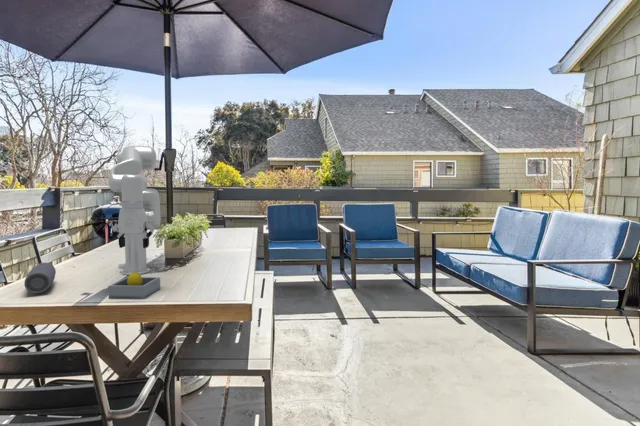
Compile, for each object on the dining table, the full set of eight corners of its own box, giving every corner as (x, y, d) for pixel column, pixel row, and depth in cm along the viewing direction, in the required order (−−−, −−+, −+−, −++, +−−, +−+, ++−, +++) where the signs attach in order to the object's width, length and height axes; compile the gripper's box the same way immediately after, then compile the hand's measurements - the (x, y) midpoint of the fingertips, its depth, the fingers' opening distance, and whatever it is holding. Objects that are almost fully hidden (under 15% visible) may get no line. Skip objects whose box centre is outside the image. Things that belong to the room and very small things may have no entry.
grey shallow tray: (108, 298, 146) (108, 286, 146) (127, 288, 160) (127, 277, 160) (144, 299, 146) (143, 286, 146) (160, 288, 160) (159, 277, 160)
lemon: (131, 289, 156) (130, 270, 155) (145, 288, 156) (143, 269, 156) (125, 293, 150) (123, 273, 150) (139, 292, 151) (138, 272, 150)
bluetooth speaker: (31, 284, 166) (30, 262, 166) (57, 282, 171) (56, 260, 170) (23, 298, 147) (21, 273, 146) (52, 294, 152) (50, 270, 151)
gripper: (106, 206, 149) (107, 248, 150) (149, 206, 148) (150, 249, 150) (116, 204, 156) (118, 245, 158) (158, 205, 156) (159, 246, 157)
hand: (134, 247), depth 154 cm, fingers open, 9 cm apart
